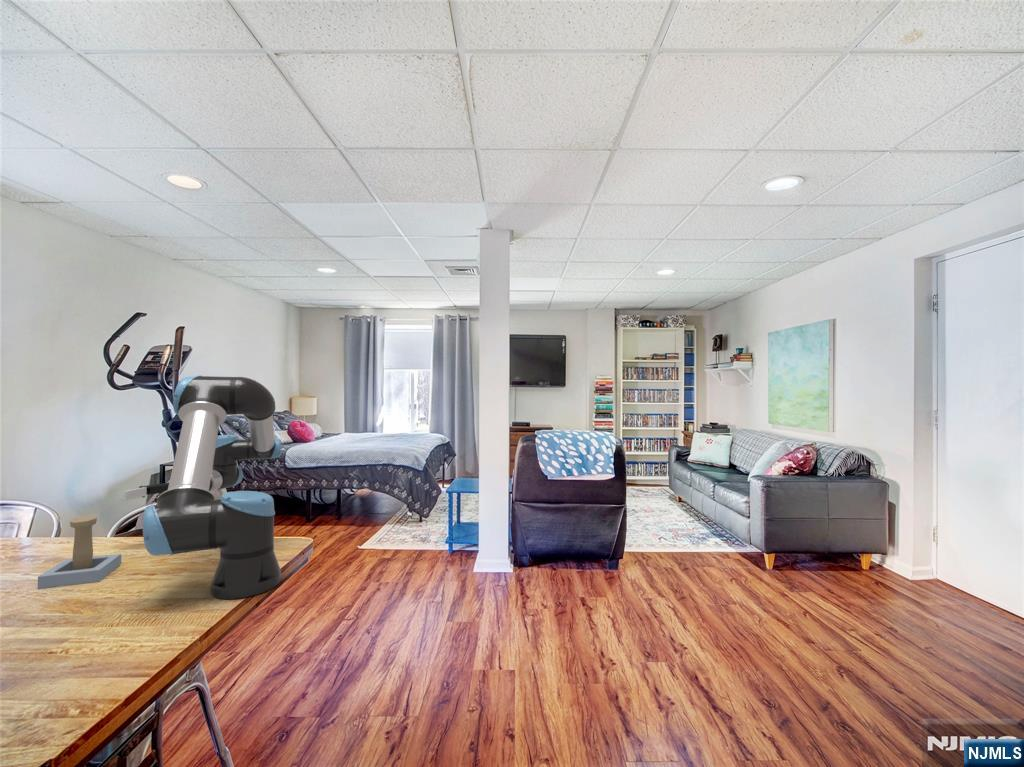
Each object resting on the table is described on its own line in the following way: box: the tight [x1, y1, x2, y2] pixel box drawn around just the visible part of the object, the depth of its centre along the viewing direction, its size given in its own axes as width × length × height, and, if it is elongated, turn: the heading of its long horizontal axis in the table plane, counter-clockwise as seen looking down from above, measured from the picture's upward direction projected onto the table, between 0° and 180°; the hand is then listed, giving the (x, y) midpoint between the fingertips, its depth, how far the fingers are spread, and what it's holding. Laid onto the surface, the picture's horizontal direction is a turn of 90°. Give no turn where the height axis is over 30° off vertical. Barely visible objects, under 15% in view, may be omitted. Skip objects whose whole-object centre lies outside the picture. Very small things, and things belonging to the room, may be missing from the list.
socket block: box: [37, 553, 122, 590], centre depth 116 cm, size 12×12×3 cm
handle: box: [69, 515, 98, 570], centre depth 116 cm, size 5×6×15 cm
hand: (145, 496), depth 130 cm, fingers open, 13 cm apart
